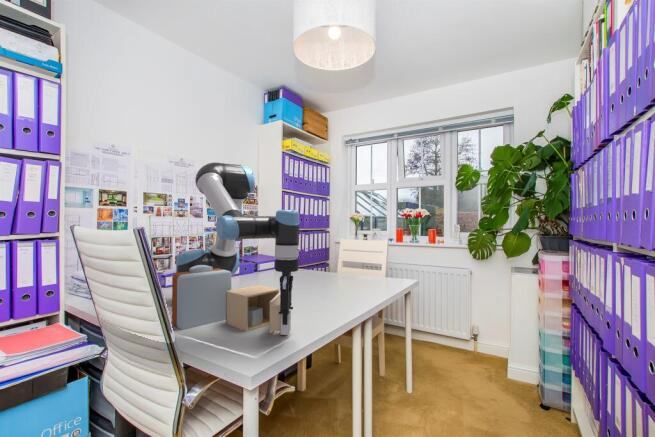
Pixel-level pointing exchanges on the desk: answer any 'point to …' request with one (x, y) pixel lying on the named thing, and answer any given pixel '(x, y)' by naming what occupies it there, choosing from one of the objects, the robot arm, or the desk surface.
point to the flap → (275, 314)
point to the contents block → (255, 315)
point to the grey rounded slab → (199, 296)
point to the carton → (248, 305)
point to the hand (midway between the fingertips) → (285, 332)
